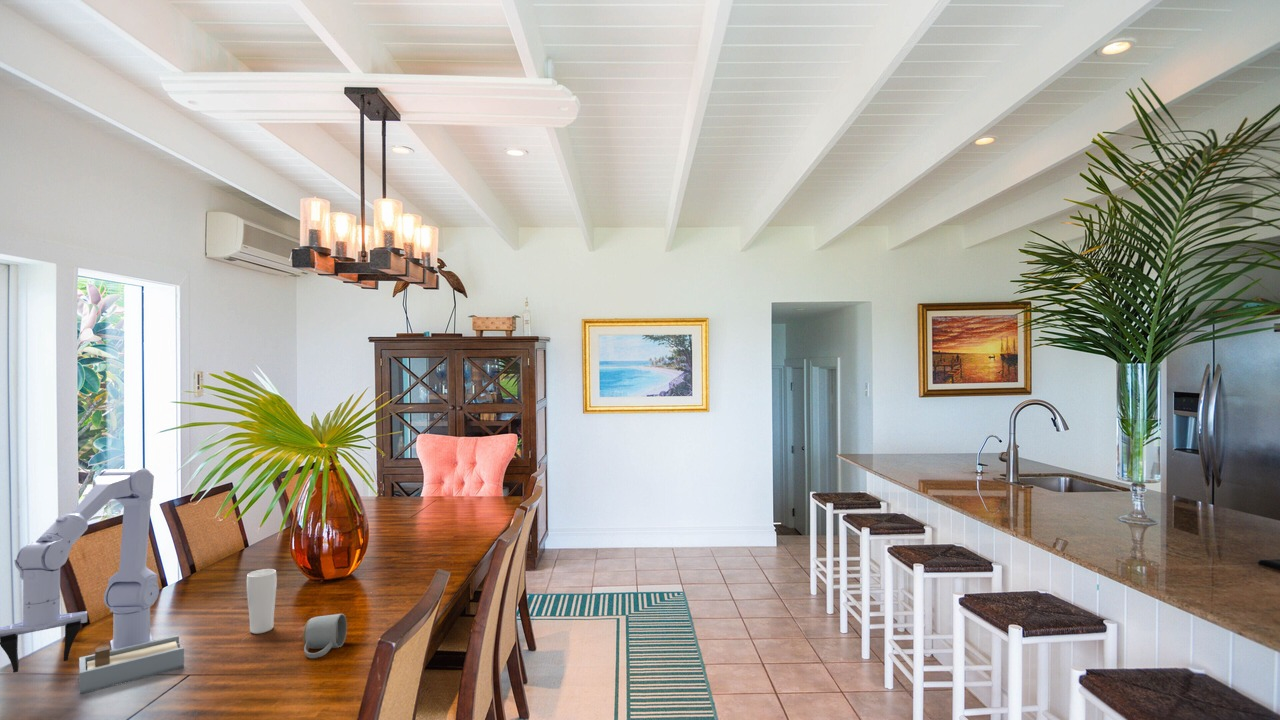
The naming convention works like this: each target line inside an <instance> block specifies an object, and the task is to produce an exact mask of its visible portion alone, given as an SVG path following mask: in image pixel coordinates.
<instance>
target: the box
mask: <svg viewBox="0 0 1280 720" xmlns="http://www.w3.org/2000/svg"><path fill="white" fill-rule="evenodd" d="M173 641H176V643H177V646H178V648H177V649H173V650H169V651H164V652H160V653H156V654H152V655H148V656H144V657H139V658H135V659H131V660H127V661H123V662H119V663H114V664H110V665H106V666H102V667H98V668H94V669H89V670H87V661H91V660H95V653H93V654H90V655H85V656H84V655H83V656H80V657H78V659H79V661H78V667H79V671H78V672H79V673H78V680H79V681H78V682H79V685H78V687H79V695H83V694H86V692H87V693H90V692H93V691H94V692H95V691H98V690H97V689H99V690H103V689H107V688H110V687H113V686H118V685H121V683H122V684H126V683H128V682H129V681H130V682H133V681H137V680H141V679H145V678H149V677H153V676H156V675H160V674H163V673H168V671H169V672H172V671H176V670H179V669H184V668H185V648H184V647H183V646H182V647H181V645H180V644H181V643H180V636H179V635H178V634H175V635H173V636H168V637H163V638H159V639H155V640H154V639H153V641H150V642H146V643H141V644H137V645H132V646H128V647H124V648H119V649H115V650H110V656H113V655H117V654H121V653H125V652H130V651H134V650H138V649H143V648H147V647H151V646H155V645H160V644H164V643H168V642H173ZM125 682H126V683H125ZM117 684H118V685H117ZM102 688H103V689H102Z"/></svg>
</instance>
